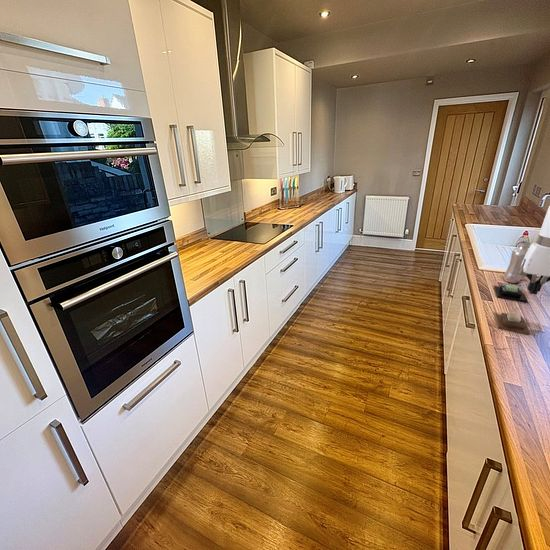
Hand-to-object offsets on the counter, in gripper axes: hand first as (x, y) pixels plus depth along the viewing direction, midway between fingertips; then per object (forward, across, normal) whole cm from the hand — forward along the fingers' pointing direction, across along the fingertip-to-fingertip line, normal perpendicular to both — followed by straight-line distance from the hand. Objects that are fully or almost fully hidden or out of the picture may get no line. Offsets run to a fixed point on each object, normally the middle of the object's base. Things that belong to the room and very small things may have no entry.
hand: (532, 292), depth 100 cm
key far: (+13, -2, -29) cm, 31 cm away
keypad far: (+15, -2, -29) cm, 33 cm away
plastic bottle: (+15, -4, -45) cm, 47 cm away
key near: (+13, +2, -2) cm, 13 cm away
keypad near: (+15, +2, -2) cm, 16 cm away
